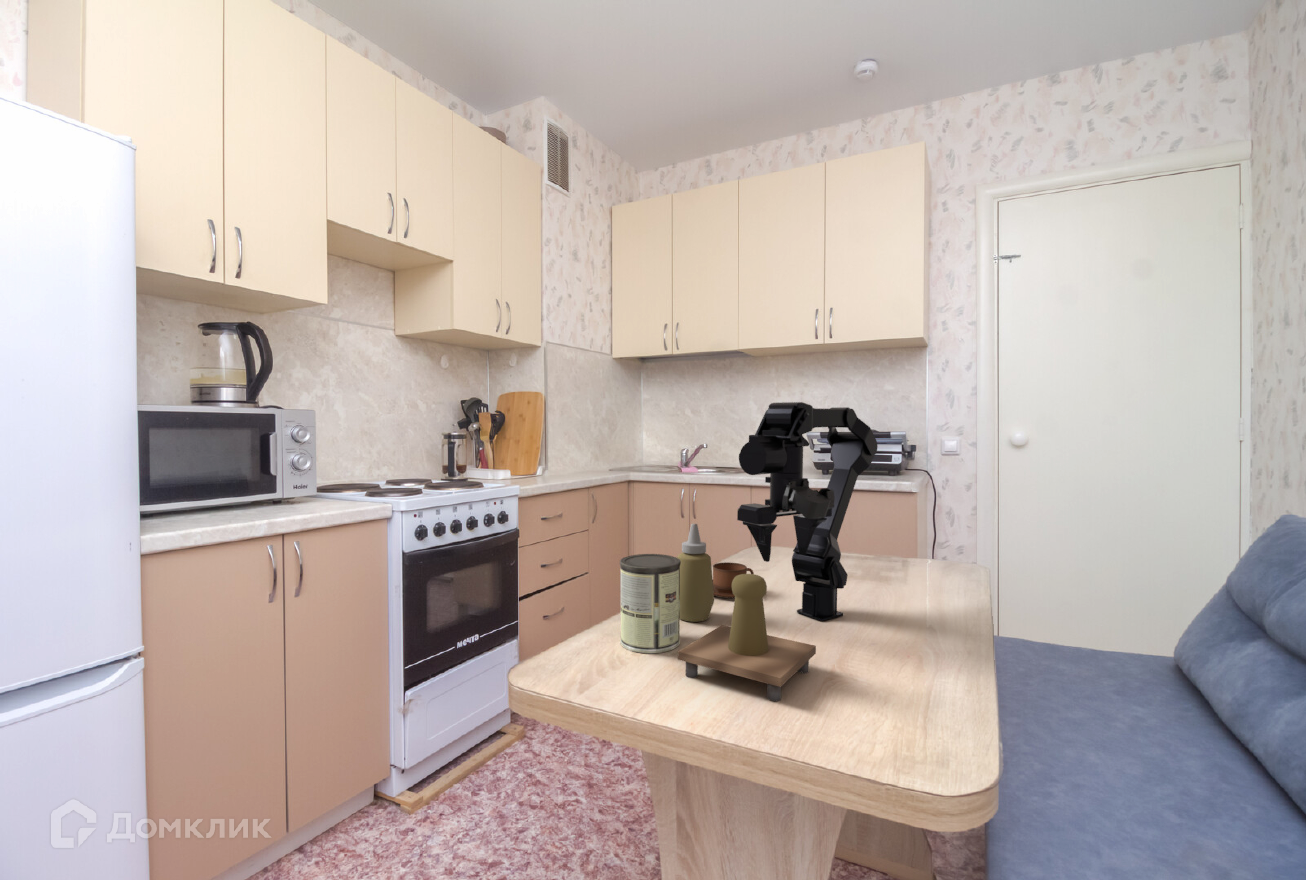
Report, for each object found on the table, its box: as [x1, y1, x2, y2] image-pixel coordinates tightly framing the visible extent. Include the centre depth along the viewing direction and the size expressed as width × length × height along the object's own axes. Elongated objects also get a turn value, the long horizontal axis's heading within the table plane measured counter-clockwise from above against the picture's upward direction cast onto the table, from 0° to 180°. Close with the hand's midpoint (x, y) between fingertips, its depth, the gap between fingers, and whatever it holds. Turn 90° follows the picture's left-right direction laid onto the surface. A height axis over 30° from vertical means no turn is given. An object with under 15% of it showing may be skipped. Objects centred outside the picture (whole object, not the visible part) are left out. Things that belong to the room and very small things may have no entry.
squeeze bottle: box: [676, 523, 715, 623], centre depth 115 cm, size 8×8×18 cm
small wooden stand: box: [677, 624, 817, 702], centre depth 91 cm, size 16×14×4 cm
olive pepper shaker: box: [728, 573, 769, 656], centre depth 91 cm, size 6×6×11 cm
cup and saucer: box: [712, 561, 755, 599], centre depth 132 cm, size 12×12×6 cm
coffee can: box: [619, 553, 681, 654], centre depth 103 cm, size 10×10×14 cm
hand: (784, 558), depth 109 cm, fingers open, 9 cm apart
